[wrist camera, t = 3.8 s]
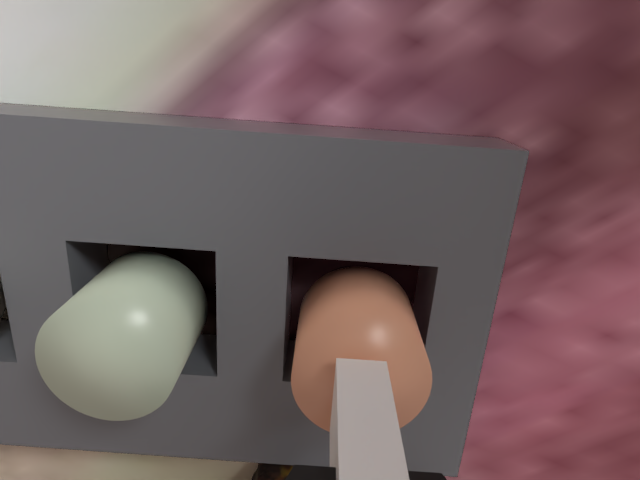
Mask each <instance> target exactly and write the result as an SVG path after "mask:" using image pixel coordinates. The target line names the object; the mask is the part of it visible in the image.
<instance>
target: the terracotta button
mask: <svg viewBox="0 0 640 480" xmlns="http://www.w3.org/2000/svg"><path fill="white" fill-rule="evenodd" d="M336 358H345V359H360V360H374V361H387V366H388V371H389V376H390V381H391V386H392V392H393V397H394V402H395V407H396V412H397V417H398V423H399V428H402V427H403V426H405V425H406V424H408V423H409V422H410V421H412V420H413V419H414V418H415V417H416V416H417V415H418V414H419V413H420V411H421V410H422V409H423V407H424V406H425V404H426V402H427V400H428V398H429V395H430V392H431V388H432V370H431V366H430V362H429V359H428V356H427V353H426V350H425V347H424V344H423V341H422V338H421V335H420V331H419V328H418V325H417V322H416V319H415V316H414V313H413V310H412V307H411V304H410V301H409V298H408V296H407V294H406V292H405V291H404V289H403V288H402V287H401V286H400V284H399V283H398V282H397V281H395V280H394V279H393V278H392V277H390V276H389V275H387V274H385V273H383V272H381V271H378V270H376V269H372V268H368V267H355V266H353V267H345V268H341V269H337V270H334V271H331V272H329V273H327V274H326V275H324V276H322V277H321V278H319V279H318V280H317V281H316V282H315V283H314V284H313V285H312V286H311V287H310V288H309V289H308V291H307V293H306V294H305V296H304V298H303V300H302V304H301V307H300V314H299V321H298V329H297V336H296V343H295V351H294V358H293V365H292V373H291V387H292V393H293V396H294V399H295V401H296V403H297V405H298V407H299V408H300V409H301V411H302V412H303V414H304V415H305V416H306V417H307V418H308V419H309V420H311V421H312V422H313V423H314V424H316V425H317V426H319V427H320V428H322V429H324V430H326V431H328V432H330V421H331V410H332V399H333V388H334V377H335V366H336Z"/></svg>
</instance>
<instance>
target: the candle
mask: <svg viewBox="0 0 640 480" xmlns="http://www.w3.org/2000/svg"><path fill="white" fill-rule="evenodd" d="M293 466H294V465H282V464H268V463H259V465H258V469H257V470H256V472H255V473H254V475H253V477H252V480H285V479H286V477H287V476H288V474H289V473H290V471H291V469H292V468H293Z"/></svg>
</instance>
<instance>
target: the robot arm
mask: <svg viewBox="0 0 640 480" xmlns="http://www.w3.org/2000/svg"><path fill="white" fill-rule="evenodd" d="M285 480H446V478H445V477H444V476H443V474H442V473H434V472H419V471H408V469H407V464H406V459H405V454H404V448H403V443H402V438H401V433H400V428H399V423H398V417H397V412H396V407H395V402H394V397H393V392H392V386H391V381H390V376H389V371H388V366H387V361H374V360H360V359H345V358H336V366H335V377H334V388H333V399H332V410H331V421H330V467H325V466H310V465H295V464H294V466H293V468H292V469H291V471H290V473H289V474H288V476H287V477H286V479H285Z"/></svg>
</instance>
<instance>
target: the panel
mask: <svg viewBox="0 0 640 480" xmlns="http://www.w3.org/2000/svg"><path fill="white" fill-rule="evenodd" d="M528 155H529V151H528V150H526V149H523V148H521V147H519V146H516V145H514V144H512V143H510V142H507V141H505V140H503V139H500V138H494V137H480V136H465V135H451V134H437V133H423V132H408V131H394V130H380V129H365V128H351V127H337V126H323V125H308V124H294V123H280V122H265V121H251V120H237V119H223V118H208V117H194V116H180V115H165V114H151V113H137V112H123V111H108V110H94V109H80V108H65V107H51V106H37V105H23V104H8V103H0V275H1V280H2V285H3V291H4V296H5V301H6V306H7V312H8V317H9V320H0V444H2V445H16V446H30V447H44V448H58V449H72V450H86V451H100V452H114V453H128V454H142V455H156V456H170V457H184V458H198V459H212V460H226V461H240V462H254V463H268V464H282V465H294V464H295V465H310V466H325V467H330V432H328V431H326V430H324V429H322V428H320V427H319V426H317V425H316V424H314V423H313V422H312V421H311V420H309V419H308V418H307V417H306V416H305V415H304V414H303V412H302V411H301V409H300V408H299V407H298V405H297V403H296V401H295V399H294V396H293V393H292V387H291V373H292V365H293V358H294V351H295V343H296V341H295V340H289V331H290V311H291V290H292V270H293V257H305V258H319V259H333V260H347V261H361V262H376V263H390V264H404V265H418V266H419V270H418V277H417V284H416V290H415V297H414V303H413V313H414V316H415V319H416V322H417V325H418V328H419V331H420V335H421V338H422V341H423V344H424V347H425V350H426V353H427V356H428V359H429V362H430V366H431V370H432V388H431V392H430V395H429V398H428V400H427V402H426V404H425V406H424V407H423V409H422V410H421V411H420V413H419V414H418V415H417V416H416V417H415V418H414V419H413V420H412V421H410V422H409V423H408V424H406V425H405V426H403V427H402V428H400V433H401V438H402V443H403V448H404V454H405V459H406V464H407V469H408V471H419V472H434V473H442V474H443V476H451V477H457V476H458V472H459V467H460V462H461V458H462V453H463V449H464V444H465V440H466V435H467V431H468V426H469V422H470V417H471V413H472V408H473V404H474V399H475V395H476V390H477V386H478V381H479V377H480V372H481V368H482V363H483V359H484V354H485V349H486V345H487V340H488V336H489V331H490V327H491V322H492V318H493V313H494V309H495V304H496V300H497V295H498V291H499V286H500V282H501V277H502V273H503V268H504V264H505V259H506V255H507V250H508V246H509V241H510V237H511V232H512V227H513V223H514V218H515V214H516V209H517V205H518V200H519V196H520V191H521V187H522V182H523V178H524V173H525V169H526V164H527V160H528ZM107 244H120V245H134V246H149V247H163V248H177V249H191V250H205V251H216V316H217V335H210V334H200V335H199V337H198V339H197V341H196V343H195V345H194V347H193V349H192V351H191V353H190V355H189V357H188V359H187V361H186V363H185V366H184V368H183V370H182V372H181V374H180V376H179V378H178V380H177V382H176V384H175V386H174V388H173V390H172V392H171V393H170V395H169V397H168V398H167V400H166V401H165V402H164V403H163V404H162V405H161V406H160V407H159V408H158V409H156V410H155V411H153V412H152V413H150V414H148V415H146V416H143V417H140V418H137V419H132V420H125V421H110V420H102V419H98V418H94V417H91V416H88V415H85V414H83V413H81V412H78V411H76V410H75V409H73V408H71V407H69V406H68V405H67V404H65V403H64V402H62V401H61V400H60V399H59V398H58V397H57V396H56V395H55V394H54V393H53V392H52V391H51V390H50V389H49V388H48V386H47V385H46V383H45V382H44V380H43V378H42V377H41V375H40V372H39V370H38V368H37V364H36V360H35V342H36V338H37V335H38V333H39V330H40V328H41V327H42V325H43V324H44V322H45V321H46V320H47V319H48V318H49V317H50V316H51V315H52V314H53V313H55V312H56V311H57V310H58V309H59V308H60V307H61V306H62V305H64V304H65V303H66V302H67V301H68V300H69V299H70V298H71V297H73V296H74V295H75V294H76V293H77V292H78V291H79V290H80V289H82V288H83V287H84V286H85V285H86V284H87V283H88V282H90V281H91V280H92V279H93V278H94V277H95V276H96V275H97V274H99V273H100V272H101V271H102V270H103V269H104V268H105V267H106V266H108V265H109V263H108V253H107Z"/></svg>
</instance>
